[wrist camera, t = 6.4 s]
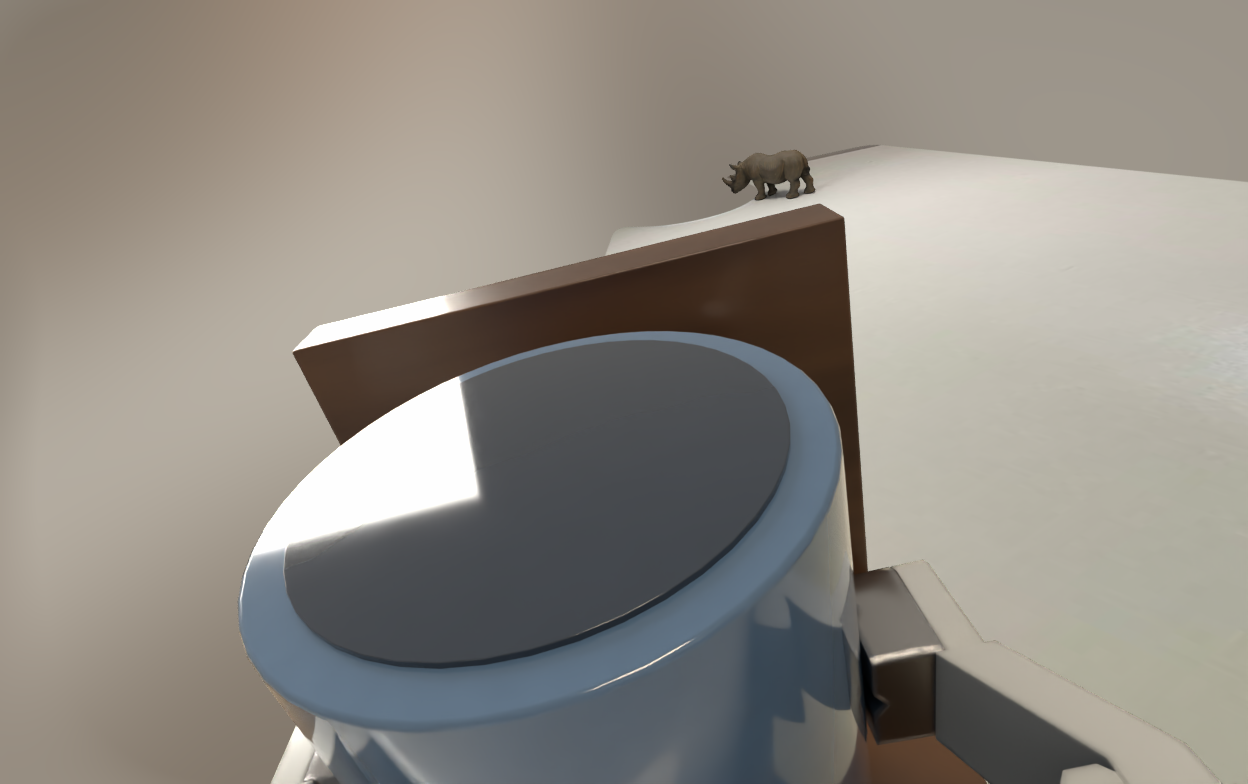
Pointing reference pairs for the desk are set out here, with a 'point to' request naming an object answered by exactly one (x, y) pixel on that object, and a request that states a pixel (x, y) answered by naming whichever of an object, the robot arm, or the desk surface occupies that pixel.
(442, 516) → the cup
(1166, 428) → the desk surface
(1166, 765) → the robot arm
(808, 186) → the rhino figurine
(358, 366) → the miniature wooden chair
